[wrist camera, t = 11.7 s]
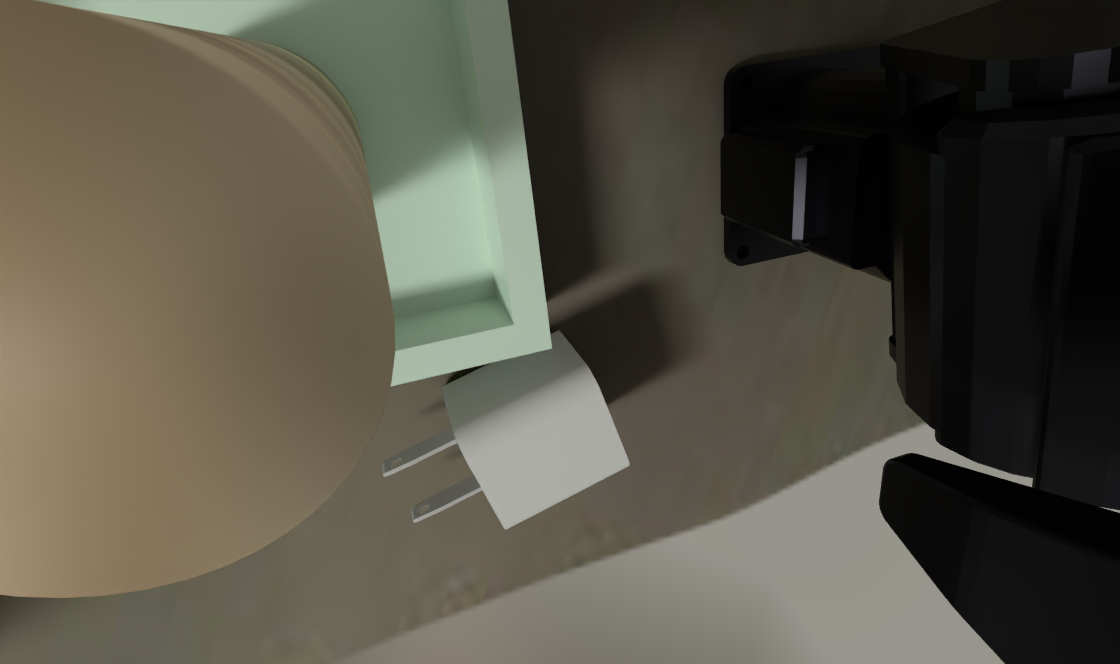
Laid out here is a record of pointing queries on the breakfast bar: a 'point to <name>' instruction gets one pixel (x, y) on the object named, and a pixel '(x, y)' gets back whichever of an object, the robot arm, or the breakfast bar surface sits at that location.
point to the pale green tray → (419, 158)
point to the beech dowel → (175, 299)
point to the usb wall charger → (524, 434)
